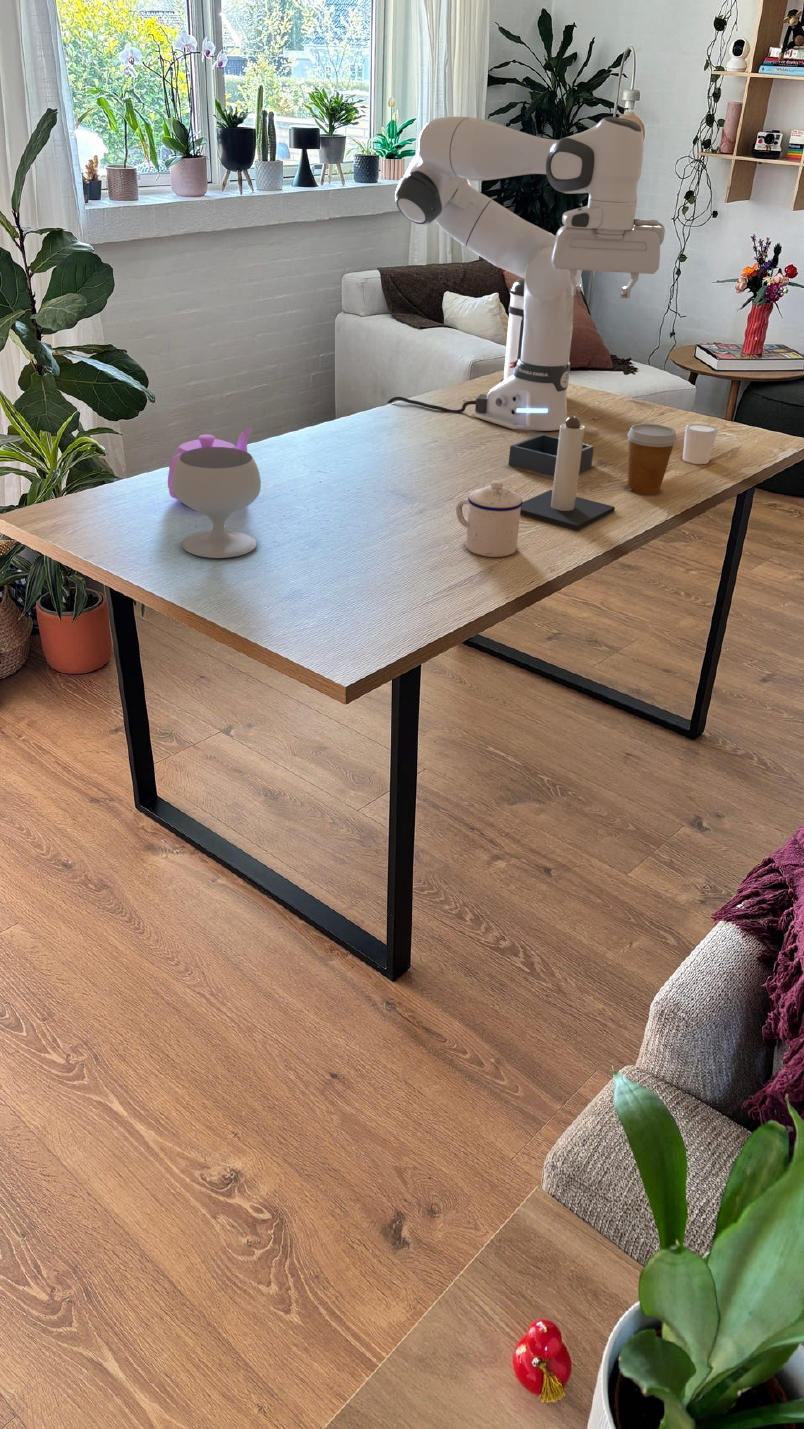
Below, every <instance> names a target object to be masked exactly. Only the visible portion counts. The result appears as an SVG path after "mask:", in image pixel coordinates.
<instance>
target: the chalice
mask: <svg viewBox="0 0 804 1429" xmlns="http://www.w3.org/2000/svg"><path fill="white" fill-rule="evenodd" d="M259 470H260V469H259V468H258V464H257V462H256V461H255V459H254V457H253V456H252V454H251V453H249V452H248V451H247V452H245V451H243V450H239V449H234V448H227V447H205V448H197V449H193V450H189V451H186V452H184V453H182V454H181V455H180V457H179V458H178V460H177V463H176V466H175V470H174V475H173V489H174V492H175V494H176V496H177V498H178V499H179V500H180V501H179V500H178V501H179V502H181V503H182V504H184V506H187V507H188V508H189V509H192V510H194V511H197V512H199V513H201V514H203V515H205V516H206V517H208V519H209V520H210V521H211V524H212V526H213V529H212V530H211V529H210V530H204V531H200V532H197V533H194V534H191V535H190V536H188V537H186V538H185V539H184V540H183V542H182V545H181V546H182V548H183V549H184V550H185V551H186V552H188V553H189V554H192V555H195V556H198V557H203V558H213V559H223V558H224V559H225V558H233V557H234V558H235V557H239V556H243V555H246V554H248V553H250V552H252V551H253V550H255V549H256V547H257V544H258V543H257V541H256V539H255V538H254V537H252V536H251V535H250V534H247V533H245V532H241V531H236V530H228V529H226V528H225V526H226V525H225V524H226V521H227V520H228V518H229V517H230V516H232V515H233V514H234V513H236V512H239V511H240V510H243V509H245V508H246V507H248V506H250V505H251V504H253V502H255V501H256V500H257V498H258V497H259V495H260V492H261V486H262V485H261V484H262V481H261V474H260V471H259Z"/></svg>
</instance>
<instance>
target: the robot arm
mask: <svg viewBox="0 0 804 1429" xmlns="http://www.w3.org/2000/svg"><path fill="white" fill-rule="evenodd" d="M417 144H418V145H417V147H418V148H417V151H416V152H415V153H414V156H413V158H412V159H411V161H410V163H409V165H408V166H407V169H406V171H405V173H404V175H403V177H401V179H400V180H399V183H398V184H397V187H396V190H395V194H394V201H395V204H396V207H397V209H398V210H399V212H400V213H401V214H402V215H403V216H404V217H405V218H406V219H407V220H409V221H410V222H412V223H414V224H416V225H430V224H431V223H433V222H435V223H436V225H438V227H440V228H441V230H443V231H444V232H445V233H446V234H447V235H448V236H450V237H451V238H452V239H453V240H455V241H456V242H458V243H459V244H460V245H462V246H463V247H465V248H467V249H468V250H469V251H471V252H472V253H474V254H475V255H477V256H479V257H481V259H483V260H485V261H487V262H488V263H490V264H492V265H493V266H494V267H496V268H499V269H502V270H504V271H506V272H509V273H511V274H513V275H516V276H518V277H519V278H520V279H522V278H523V279H525V280H524V328H523V339H522V350H521V358H520V359H518V360H516V361H515V362H512V363H510V364H512V365H511V366H510V368H512V367H514V371H513V373H512V375H511V376H509V377H508V378H506V379H505V380H503V381H502V382H501V381H499V383H497V384H495V385H494V386H493V387H492V388H490V390H489V391H488V392H487V394H484V393H480V394H479V395H478V396H477V397H476V398H475V400H467V401H465V402H463V403H462V406H461V408H459V409H450V408H447V407H443V406H440V405H434V404H430V403H426V402H423V401H419V400H414V399H410V398H406V397H403V396H394V397H392V398H389V399H388V400H387V402H386V403H387V404H392V403H393V402H396V401H400V402H404V403H408V404H411V405H417V406H421V407H423V408H428V409H432V410H437V411H441V412H445V413H456V414H461V413H464V412H465V410H466V408H467V406H470V405H475V408H474V417H475V418H476V419H481V420H482V421H486V422H490V423H492V424H496V425H499V426H501V427H505V428H508V429H511V430H528V431H539V432H540V431H541V432H542V431H543V432H548V431H560V425H561V424H565V421H566V420H567V418H568V410H567V409H568V408H567V407H568V406H567V389H568V387H569V380H570V374H571V373H570V372H571V371H570V370H571V362H570V355H571V348H572V338H573V330H574V304H575V303H574V301H575V296H581V291H582V285H581V284H578V283H579V281H580V279H581V276H582V274H583V271H590V272H606V273H628V274H629V279H630V280H629V282H628V283H627V285H626V286H622V287H621V289H620V290H621V292H620V298H622V299H630V297H631V291H632V289H633V287H634V286H635V284H636V283H637V282H638V280H639V275H640V274H644V275H645V274H647V275H654V274H656V273H657V271H658V270H659V269H660V260H661V245H662V244H663V242H664V240H665V234H666V229H665V226H664V225H663V224H662V223H661V222H659V220H658V219H644V218H635V217H636V210H637V205H638V204H637V203H638V195H637V193H638V192H637V188H638V184H639V180H640V178H641V174H642V169H643V168H642V166H643V158H644V144H645V142H644V131H643V129H642V127H641V126H640V125H639V124H638V123H637V122H635V121H633V120H630V119H627V118H622V117H617V116H606V117H603V118H602V119H601V120H599V122H598V123H596V124H595V125H594V126H592V127H590V128H588V129H586V130H584V131H581V132H579V133H576V134H572V135H570V136H566V137H562V138H560V139H553V138H546V137H540V136H536V135H533V134H529V133H527V132H523V131H520V130H517V129H514V128H511V127H508V126H505V125H503V124H500V123H497V122H493V121H490V120H487V119H483V118H478V117H470V116H444V117H437V118H434V119H431V120H429V121H428V122H427V123H426V124H425V125H424V126H423V128H422V130H421V131H420V133H419V137H418V142H417ZM525 175H546V178H547V180H548V183H549V185H550V186H551V187H552V188H553V189H554V190H555V191H556V192H560V193H562V194H570V195H571V194H572V195H573V194H588V199H587V200H588V201H587V205H585V206H581V207H577V208H574V209H570V210H567V211H565V212H563V214H562V217H561V222H562V226H560V228H559V229H558V230H557V232H556V234H555V235H554V234H553V233H552V232H549V231H547V230H545V229H543V228H541V227H539V226H538V225H535V224H533V223H531V222H529V221H527V220H526V219H524V218H522V217H520V216H519V215H518V214H516V213H514V212H513V211H511V210H510V209H508V208H506V207H505V206H504V205H501V204H500V203H498V202H497V201H495V200H494V199H492V198H491V197H489V196H487V195H486V194H484V193H482V192H480V191H478V190H476V188H474V186H472V185H471V183H470V181H475V182H476V181H492V180H499V179H500V180H501V179H507V178H511V177H519V176H525Z"/></svg>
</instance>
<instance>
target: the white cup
mask: <svg viewBox="0 0 804 1429" xmlns="http://www.w3.org/2000/svg"><path fill="white" fill-rule="evenodd" d="M718 430H719V429H718V428H716V427H715V426H711V425H707V424H701V423H700V424H699V423H695V424H694V423H692V424H691V423H690V424H686V425H685V427H684V439H683V449H682V450H683V451H682V461H683V462H686V463H689V464H694V465H706V464H709V463H710V459H711V456H712V452H713V449H714V445H715V442H716V438H717V435H718Z"/></svg>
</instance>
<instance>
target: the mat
mask: <svg viewBox="0 0 804 1429" xmlns="http://www.w3.org/2000/svg"><path fill="white" fill-rule="evenodd" d="M552 491H553V489H549V490H547V491H544V492H542V493H540V494H538V495H535V496H534V497H531V498H528V499H527V500H524V501H523V504H522V506H521V510H520V516H524V517H527V518H530V519H535V520H537V521H541V522H545V523H548V524H552V525H555V526H559V527H563V528H565V529H569V530H573V531H576V532H578V531H580V530H582V529H584V528H586V527H587V526H590V525H592V524H593V523H595V522H597V521H599V520H601V519H603V518H605V517H608V516H609V515H611V514H613V513H614V512H615V510H616V509H615V507H616V506H613V505H611V504H610V505H609V504H605V503H602V502H598V501H595V500H591V499H588V498H583V497H579V496H576V501H575V508H574V509H573V510H570V511H560V510H556V509H553V508H552V507H551V500H552Z"/></svg>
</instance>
